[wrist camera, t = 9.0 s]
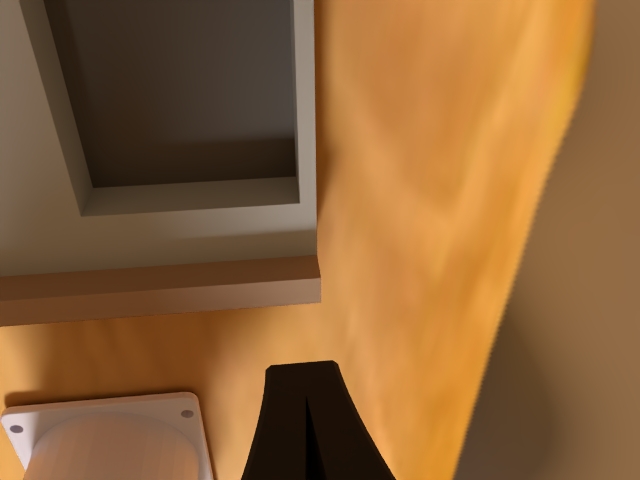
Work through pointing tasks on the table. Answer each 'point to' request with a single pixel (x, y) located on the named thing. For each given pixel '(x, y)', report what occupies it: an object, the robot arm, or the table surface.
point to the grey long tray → (156, 157)
